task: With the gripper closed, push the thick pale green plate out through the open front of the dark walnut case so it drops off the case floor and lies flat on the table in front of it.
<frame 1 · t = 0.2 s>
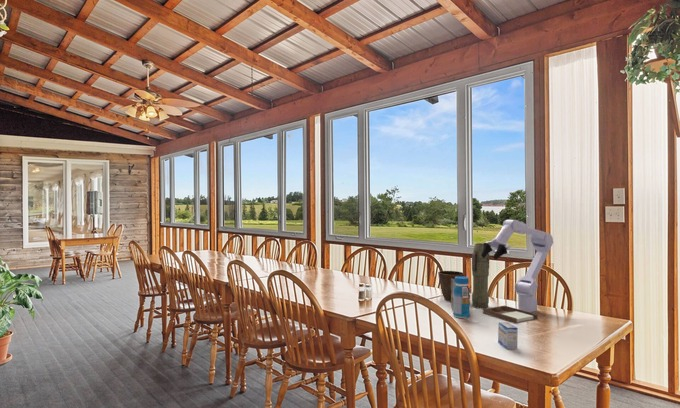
hand: (488, 257, 209), 30 cm above the table, tool tilted 45°, fingers open, 7 cm apart
cover plate: (516, 318, 207), point 1 cm above the table, touching case
beverage bottle: (461, 316, 213), on the table
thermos: (480, 306, 233), on the table
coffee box: (457, 309, 226), on the table
medicine box: (507, 346, 170), on the table
case: (511, 318, 210), on the table
plant pot: (450, 299, 249), on the table
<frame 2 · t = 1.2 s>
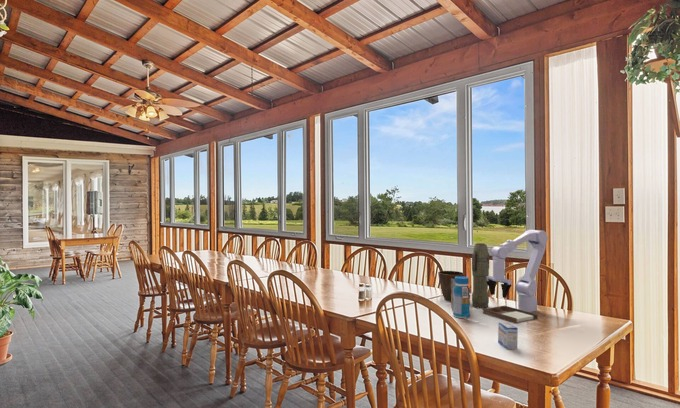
hand: (498, 296, 217), 9 cm above the table, tool pointing down, fingers open, 7 cm apart
nothing on the table moved.
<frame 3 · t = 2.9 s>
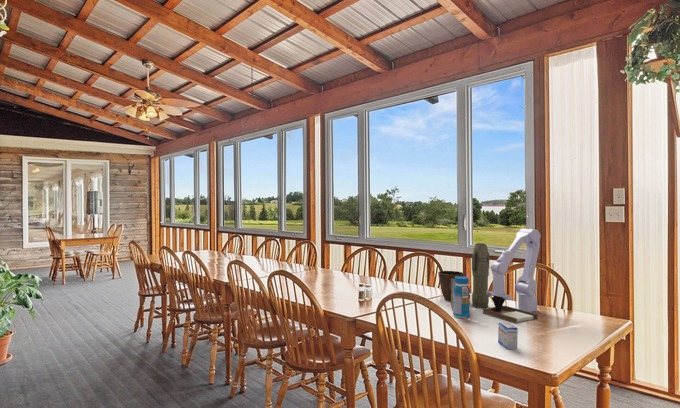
hand: (498, 311, 217), 2 cm above the table, tool pointing down, fingers closed
nothing on the table moved.
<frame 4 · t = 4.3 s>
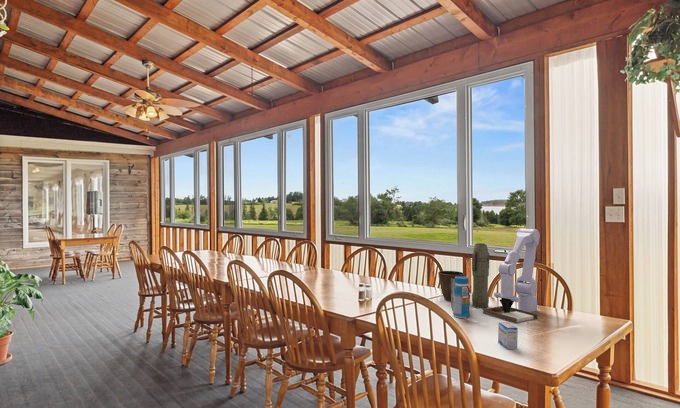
hand: (506, 313, 212), 2 cm above the table, tool pointing down, fingers closed
cover plate: (516, 318, 207), point 1 cm above the table, touching case, gripper
everything else where it was.
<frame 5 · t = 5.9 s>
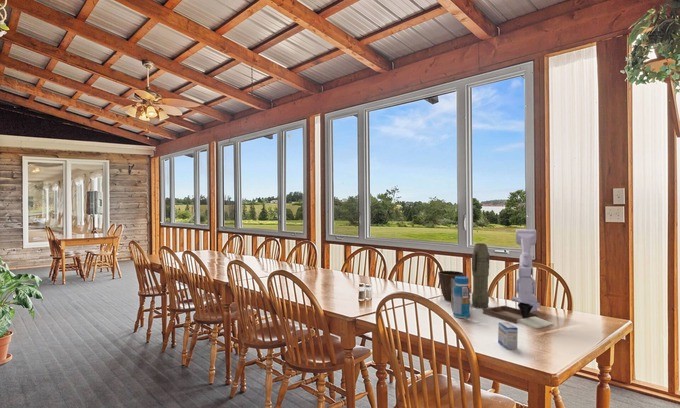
hand: (525, 318, 203), 2 cm above the table, tool pointing down, fingers closed
cover plate: (535, 324, 198), on the table, tilted 5°, touching case, gripper
everything else where it was.
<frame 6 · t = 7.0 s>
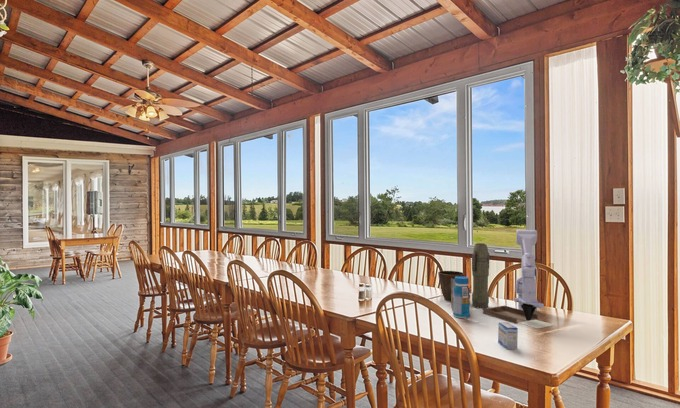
hand: (528, 320, 201), 2 cm above the table, tool pointing down, fingers closed
cover plate: (536, 326, 198), on the table
everything else where it was.
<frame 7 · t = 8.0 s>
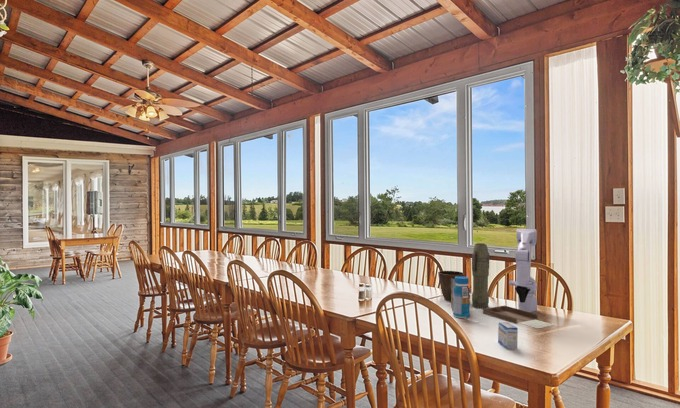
hand: (522, 302, 205), 9 cm above the table, tool pointing down, fingers closed
nothing on the table moved.
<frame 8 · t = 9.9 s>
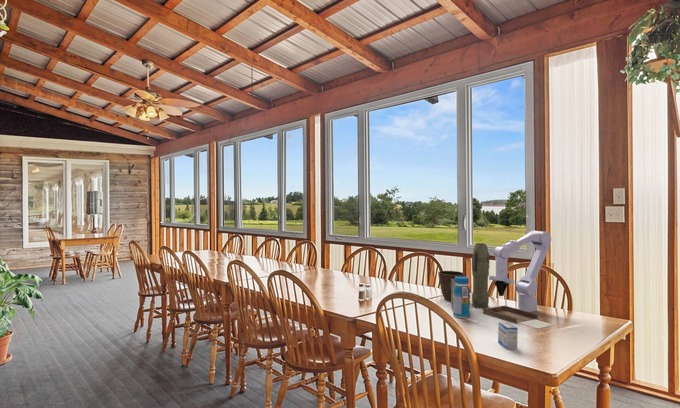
hand: (501, 295, 218), 9 cm above the table, tool pointing down, fingers closed
nothing on the table moved.
at the end: cover plate inside the target area (3.3 cm from its centre), on the table; cover plate tilted 0°; cover plate touching table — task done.
